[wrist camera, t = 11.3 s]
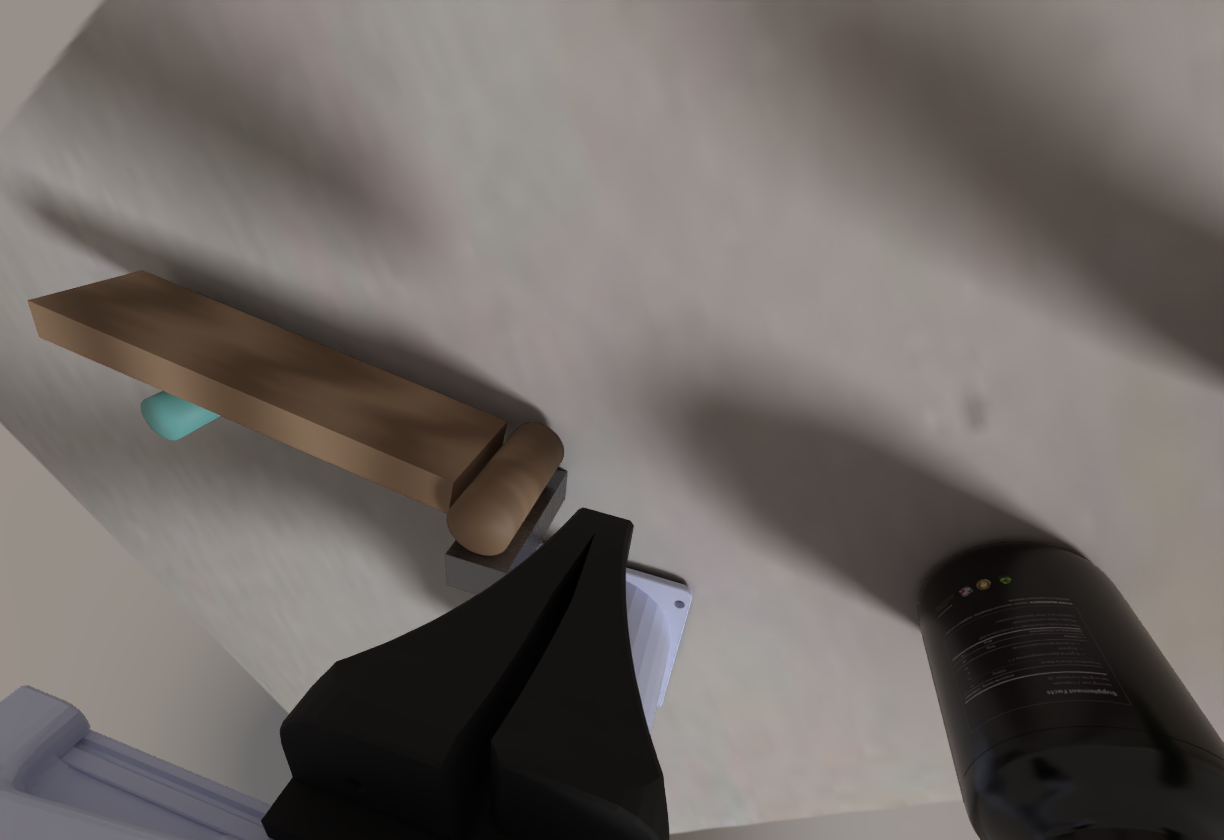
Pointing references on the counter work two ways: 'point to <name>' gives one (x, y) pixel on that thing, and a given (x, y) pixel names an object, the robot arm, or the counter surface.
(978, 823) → the supplement bottle
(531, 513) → the hinge post
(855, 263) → the counter surface
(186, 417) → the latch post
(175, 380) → the wooden plank
